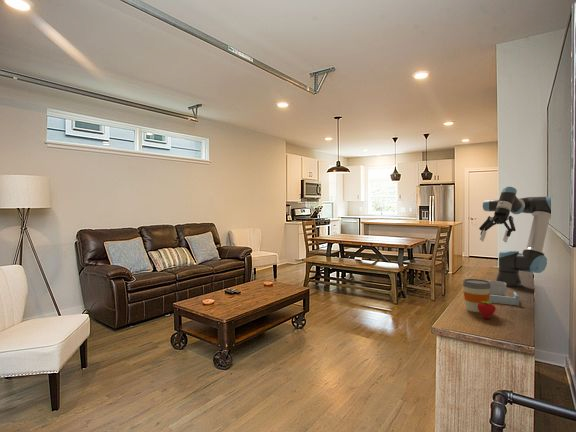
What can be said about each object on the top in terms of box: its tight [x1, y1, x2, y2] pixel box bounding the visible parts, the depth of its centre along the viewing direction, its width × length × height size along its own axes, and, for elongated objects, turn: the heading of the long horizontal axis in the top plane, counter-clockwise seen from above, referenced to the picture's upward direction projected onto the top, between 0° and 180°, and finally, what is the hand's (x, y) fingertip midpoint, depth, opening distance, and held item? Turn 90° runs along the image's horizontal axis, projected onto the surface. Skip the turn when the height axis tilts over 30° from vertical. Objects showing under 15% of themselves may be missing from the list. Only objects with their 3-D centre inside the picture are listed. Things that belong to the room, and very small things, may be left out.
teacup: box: [488, 280, 507, 296], centre depth 203 cm, size 14×11×8 cm
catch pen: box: [489, 291, 520, 306], centre depth 192 cm, size 15×21×5 cm
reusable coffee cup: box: [462, 278, 491, 313], centre depth 173 cm, size 12×13×15 cm
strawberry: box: [477, 298, 496, 320], centre depth 159 cm, size 6×8×10 cm
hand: (492, 240), depth 196 cm, fingers open, 13 cm apart
